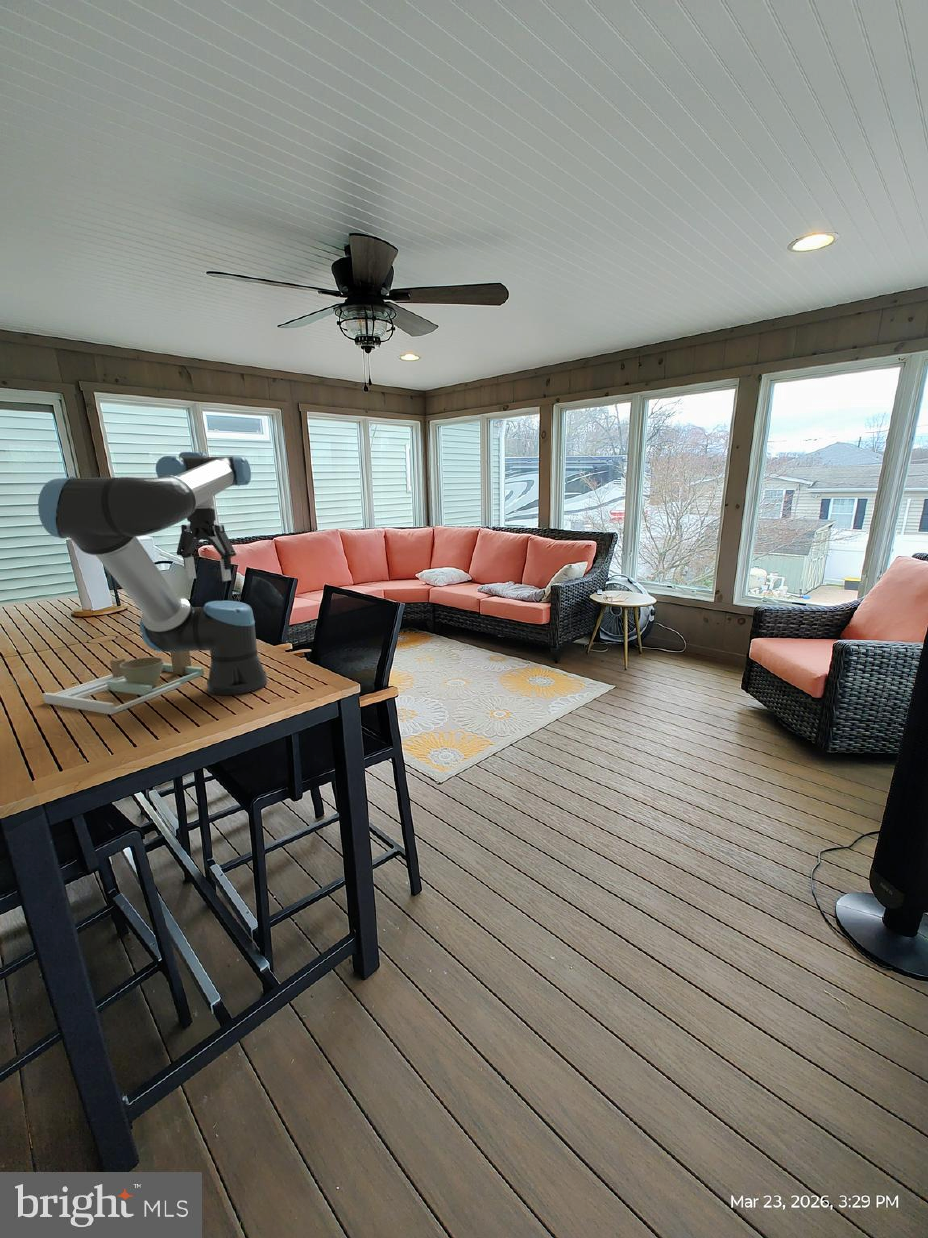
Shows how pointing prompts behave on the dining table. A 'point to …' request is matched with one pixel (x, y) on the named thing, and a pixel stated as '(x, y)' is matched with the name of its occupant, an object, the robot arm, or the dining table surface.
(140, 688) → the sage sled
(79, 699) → the frame
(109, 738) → the dining table surface
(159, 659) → the olive green bowl
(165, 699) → the dining table surface
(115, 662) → the pale long handled piece
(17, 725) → the dining table surface
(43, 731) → the dining table surface
